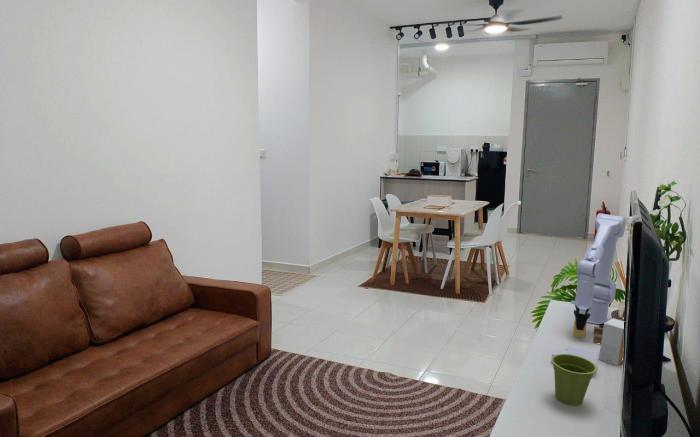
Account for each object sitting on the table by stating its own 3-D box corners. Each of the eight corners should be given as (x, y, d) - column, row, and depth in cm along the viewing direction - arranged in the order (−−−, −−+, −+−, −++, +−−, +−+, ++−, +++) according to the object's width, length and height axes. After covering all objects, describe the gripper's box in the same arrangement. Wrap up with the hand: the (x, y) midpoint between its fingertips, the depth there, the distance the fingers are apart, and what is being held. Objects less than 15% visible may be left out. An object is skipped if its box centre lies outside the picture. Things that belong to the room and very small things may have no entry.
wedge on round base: (594, 365, 171) (552, 356, 176) (597, 346, 169) (554, 337, 175) (594, 377, 163) (550, 366, 168) (596, 357, 161) (552, 347, 167)
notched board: (593, 332, 199) (594, 326, 199) (615, 336, 196) (616, 330, 196) (593, 342, 189) (594, 336, 189) (616, 347, 186) (617, 340, 186)
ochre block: (573, 332, 198) (575, 314, 197) (584, 334, 197) (587, 317, 196) (572, 335, 195) (575, 318, 194) (584, 338, 193) (587, 320, 192)
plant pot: (540, 399, 147) (545, 362, 145) (555, 385, 156) (560, 350, 154) (583, 416, 140) (589, 377, 138) (597, 400, 149) (602, 363, 147)
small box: (617, 366, 171) (623, 329, 169) (598, 359, 176) (603, 323, 173) (626, 359, 177) (632, 323, 174) (607, 352, 181) (612, 317, 179)
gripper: (573, 284, 201) (569, 318, 203) (572, 295, 188) (567, 330, 190) (593, 288, 198) (589, 321, 200) (593, 298, 185) (588, 334, 187)
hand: (579, 326), depth 195 cm, fingers open, 7 cm apart
